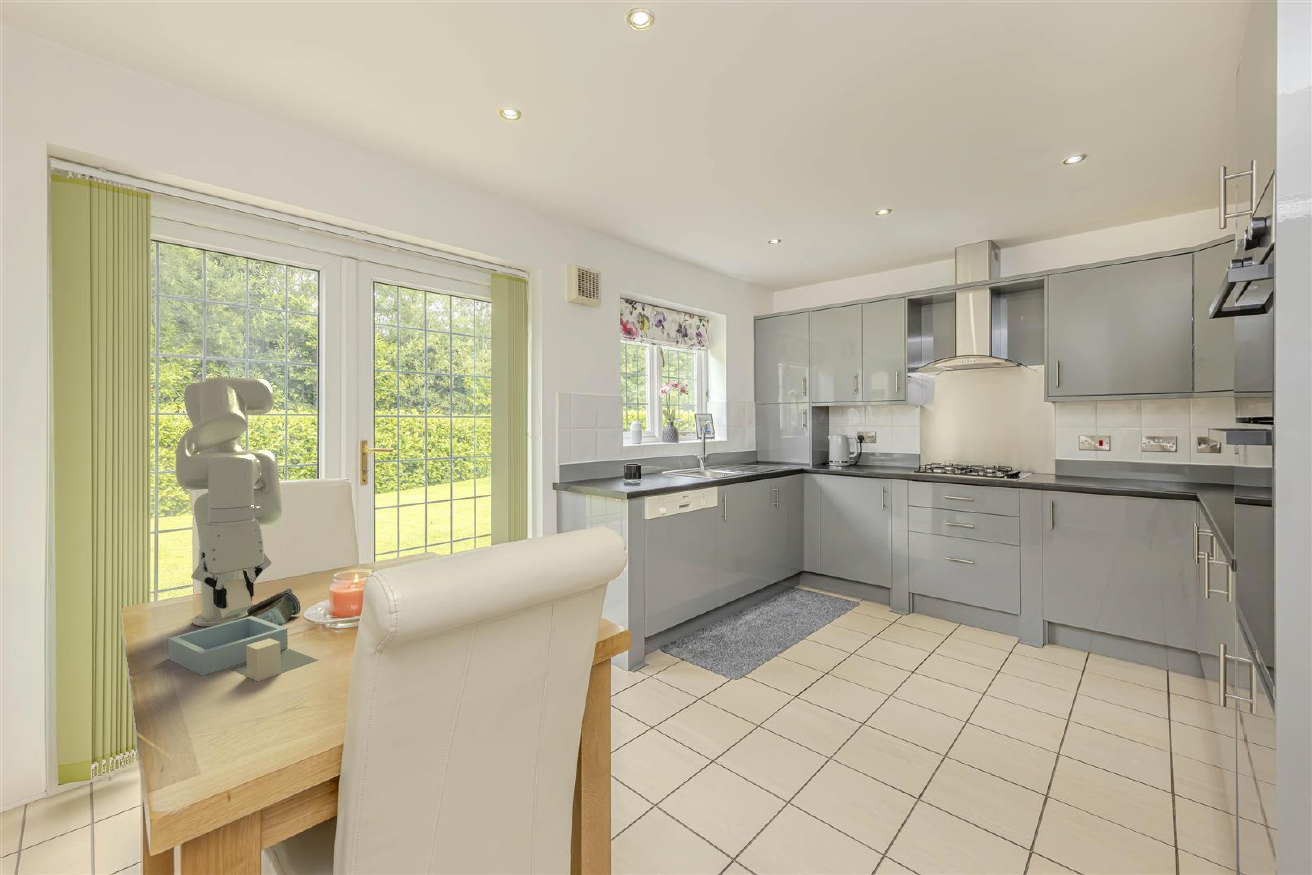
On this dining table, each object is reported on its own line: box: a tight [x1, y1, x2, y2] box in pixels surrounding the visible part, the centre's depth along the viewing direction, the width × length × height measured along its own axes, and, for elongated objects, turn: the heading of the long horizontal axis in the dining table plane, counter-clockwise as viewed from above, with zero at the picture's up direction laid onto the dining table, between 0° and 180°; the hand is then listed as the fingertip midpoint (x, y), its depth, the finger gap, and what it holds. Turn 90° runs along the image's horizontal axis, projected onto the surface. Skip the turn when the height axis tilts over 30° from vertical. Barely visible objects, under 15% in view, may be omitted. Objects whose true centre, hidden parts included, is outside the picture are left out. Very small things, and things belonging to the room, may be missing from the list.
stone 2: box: [246, 638, 282, 682], centre depth 108 cm, size 4×4×6 cm
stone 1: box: [220, 578, 254, 618], centre depth 116 cm, size 4×4×6 cm
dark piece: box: [247, 588, 301, 626], centre depth 137 cm, size 10×7×12 cm
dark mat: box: [228, 648, 318, 682], centre depth 112 cm, size 11×11×1 cm
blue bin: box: [167, 616, 289, 677], centre depth 118 cm, size 15×15×4 cm
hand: (234, 603), depth 116 cm, fingers closed on stone 1, 3 cm apart
